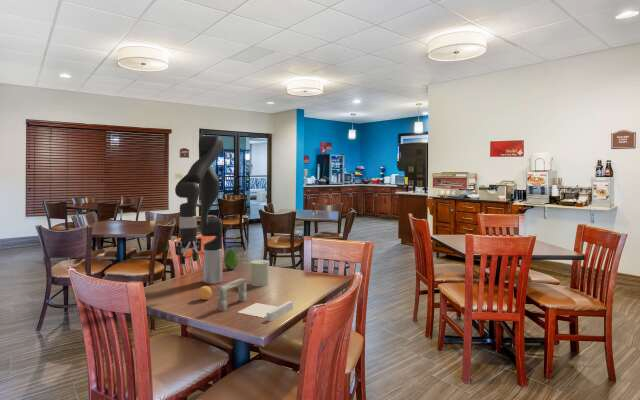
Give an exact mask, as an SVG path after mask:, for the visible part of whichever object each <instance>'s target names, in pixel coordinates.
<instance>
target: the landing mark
mask: <svg viewBox="0 0 640 400" xmlns="http://www.w3.org/2000/svg"><path fill="white" fill-rule="evenodd" d="M276 307H277V306H275V305H270V304H265V303H264V304H263V303H258V302H255V303H253V304H250V305H249V306H246V307H245V308H243V309H240V310H239V311H237V312H236V313H237V314H243V315H246V316H250V317H251V316H252V317H256V316H257V318H261V317H262V319H265V318H267V312H269V311H271V310H273V309H275V308H276ZM264 317H265V318H264Z"/></svg>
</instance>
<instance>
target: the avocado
mask: <svg viewBox="0 0 640 400" xmlns="http://www.w3.org/2000/svg"><path fill="white" fill-rule="evenodd" d="M223 262H224V266H225V268H226V269H228V270H233V269H235V268H236V267H237V266H238V263H239V258H238V255H237V253H236V251H235V250H234V249H232V248H231V249H228V250H227V252H226V254H225V256H224V259H223Z"/></svg>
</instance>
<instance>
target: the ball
mask: <svg viewBox="0 0 640 400" xmlns="http://www.w3.org/2000/svg"><path fill="white" fill-rule="evenodd" d="M212 293H213V292H212V288H211V287H209V286H208V285H204V286H201V287H199V289H198V290H197V296H198V298H199V299H200V300H203V301H206V300H208V299H210V298H211V297H212Z"/></svg>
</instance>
